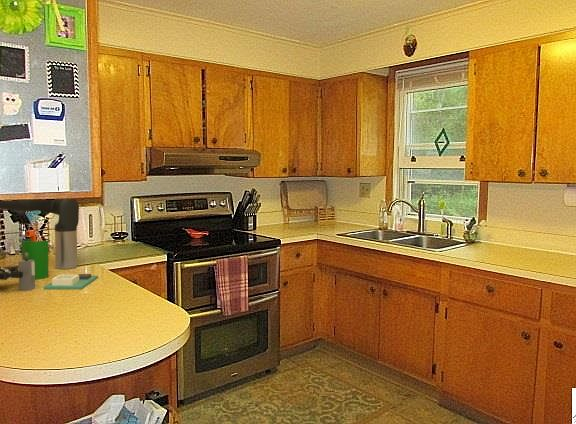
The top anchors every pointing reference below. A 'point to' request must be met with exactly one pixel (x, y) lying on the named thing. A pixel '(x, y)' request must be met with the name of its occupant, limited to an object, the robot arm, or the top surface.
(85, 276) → the board
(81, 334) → the top surface
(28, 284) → the plug
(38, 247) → the green pen holder
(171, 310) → the top surface
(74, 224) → the robot arm
